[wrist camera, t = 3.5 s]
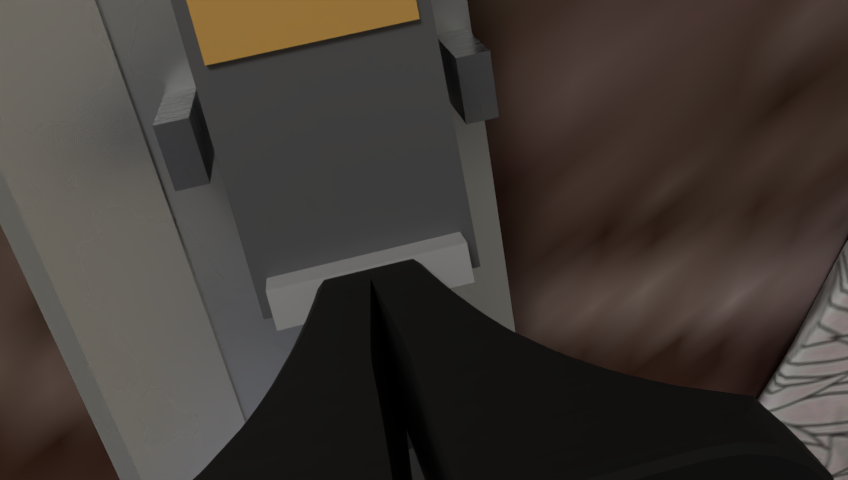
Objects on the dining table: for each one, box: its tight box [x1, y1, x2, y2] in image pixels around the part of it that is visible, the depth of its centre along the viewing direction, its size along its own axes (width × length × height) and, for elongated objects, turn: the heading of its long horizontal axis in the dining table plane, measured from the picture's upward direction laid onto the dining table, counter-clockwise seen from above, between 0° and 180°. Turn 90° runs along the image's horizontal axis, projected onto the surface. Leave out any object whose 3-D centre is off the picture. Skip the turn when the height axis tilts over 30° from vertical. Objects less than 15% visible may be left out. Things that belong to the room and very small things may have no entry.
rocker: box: [170, 0, 481, 331], centre depth 11 cm, size 5×3×2 cm, turn 10°
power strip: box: [0, 0, 515, 480], centre depth 14 cm, size 26×8×5 cm, turn 11°
